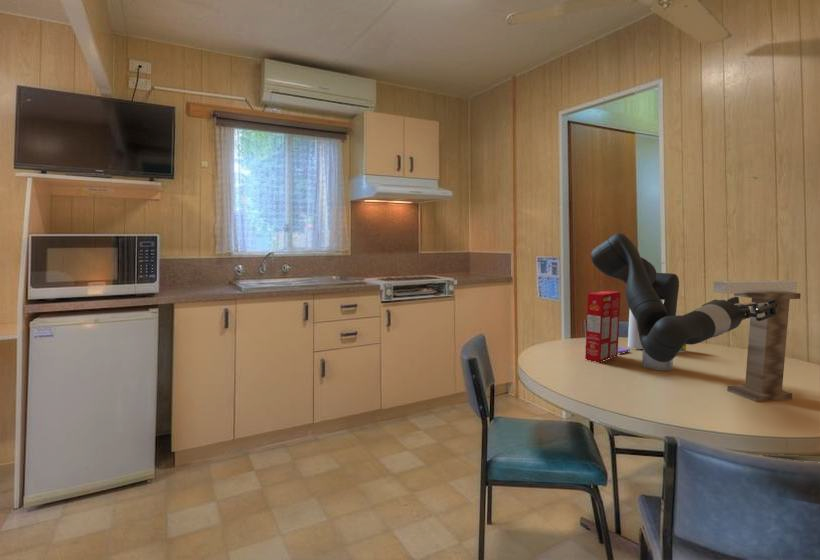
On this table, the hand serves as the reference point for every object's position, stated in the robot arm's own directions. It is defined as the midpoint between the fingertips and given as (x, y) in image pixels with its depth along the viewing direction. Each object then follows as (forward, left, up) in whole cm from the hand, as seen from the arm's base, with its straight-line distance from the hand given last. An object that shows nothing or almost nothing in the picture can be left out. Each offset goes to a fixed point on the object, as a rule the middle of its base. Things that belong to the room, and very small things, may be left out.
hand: (755, 301), depth 110 cm
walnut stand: (+7, +18, -29) cm, 35 cm away
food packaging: (-35, +42, -29) cm, 62 cm away
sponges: (-32, +57, -30) cm, 72 cm away
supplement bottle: (-7, +67, -29) cm, 74 cm away
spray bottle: (-22, +65, -29) cm, 75 cm away
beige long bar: (+4, +16, +1) cm, 16 cm away
